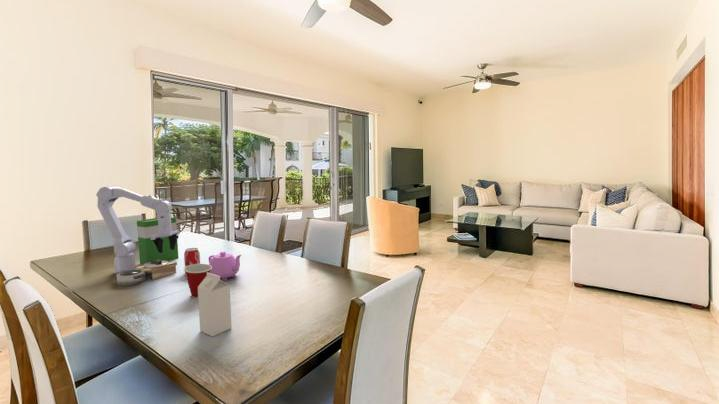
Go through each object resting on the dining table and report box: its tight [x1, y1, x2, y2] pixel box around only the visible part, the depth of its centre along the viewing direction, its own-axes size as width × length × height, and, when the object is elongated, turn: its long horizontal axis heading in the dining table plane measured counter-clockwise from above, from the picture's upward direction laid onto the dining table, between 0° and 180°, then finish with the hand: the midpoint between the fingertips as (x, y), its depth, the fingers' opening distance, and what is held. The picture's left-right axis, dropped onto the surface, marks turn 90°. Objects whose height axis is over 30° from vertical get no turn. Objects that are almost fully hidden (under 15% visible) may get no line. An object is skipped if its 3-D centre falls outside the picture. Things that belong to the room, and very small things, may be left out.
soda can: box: [183, 247, 201, 267], centre depth 176 cm, size 7×7×12 cm
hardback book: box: [136, 216, 179, 265], centre depth 197 cm, size 18×7×24 cm, turn 151°
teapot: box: [208, 251, 242, 282], centre depth 168 cm, size 20×14×12 cm
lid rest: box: [135, 259, 178, 280], centre depth 174 cm, size 13×13×5 cm
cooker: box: [115, 269, 147, 287], centre depth 163 cm, size 15×11×4 cm
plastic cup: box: [183, 263, 212, 298], centre depth 146 cm, size 11×11×12 cm
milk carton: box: [197, 272, 233, 338], centre depth 115 cm, size 7×7×19 cm
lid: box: [144, 260, 169, 268], centre depth 174 cm, size 11×11×2 cm
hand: (166, 250), depth 178 cm, fingers open, 6 cm apart
